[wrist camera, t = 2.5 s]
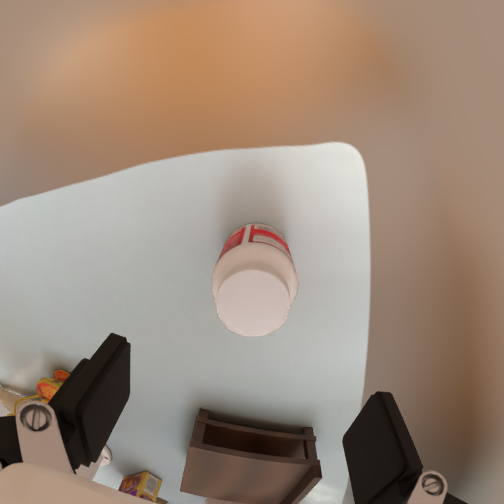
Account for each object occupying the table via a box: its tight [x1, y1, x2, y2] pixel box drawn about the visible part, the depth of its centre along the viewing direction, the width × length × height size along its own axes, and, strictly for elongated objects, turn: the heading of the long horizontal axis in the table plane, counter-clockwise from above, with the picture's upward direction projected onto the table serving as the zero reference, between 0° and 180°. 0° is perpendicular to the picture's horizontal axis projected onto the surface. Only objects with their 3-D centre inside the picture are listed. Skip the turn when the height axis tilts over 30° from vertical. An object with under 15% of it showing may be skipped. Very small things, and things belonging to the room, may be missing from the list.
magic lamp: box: [7, 370, 70, 416], centre depth 30 cm, size 7×18×11 cm, turn 98°
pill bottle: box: [212, 223, 298, 337], centre depth 24 cm, size 6×6×11 cm
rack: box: [180, 408, 322, 504], centre depth 33 cm, size 16×14×9 cm
